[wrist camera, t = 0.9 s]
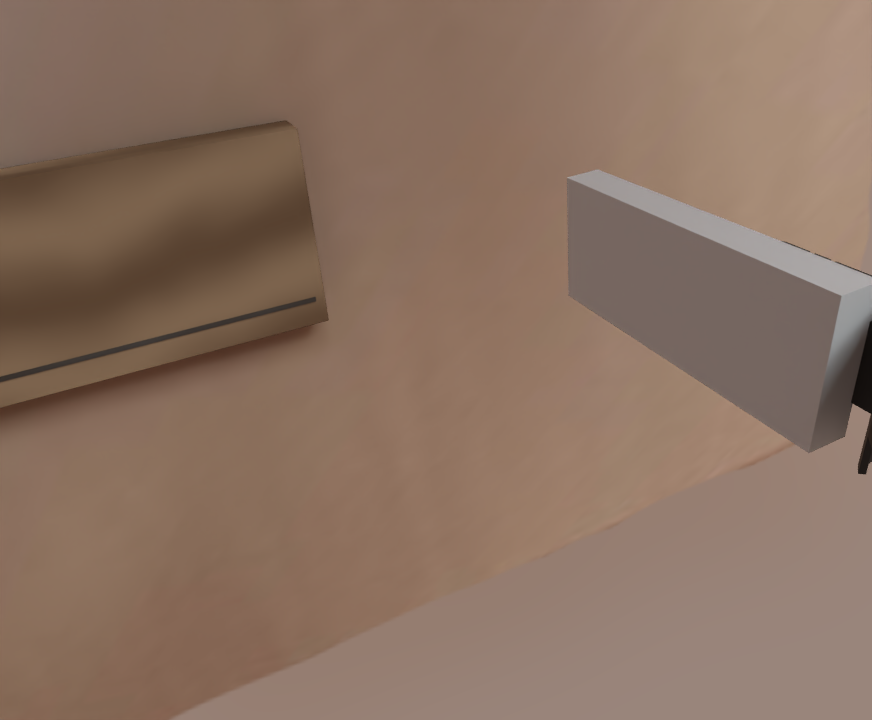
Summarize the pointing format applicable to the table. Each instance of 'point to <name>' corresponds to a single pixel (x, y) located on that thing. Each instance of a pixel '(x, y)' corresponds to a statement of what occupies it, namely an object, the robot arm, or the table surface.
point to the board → (152, 256)
